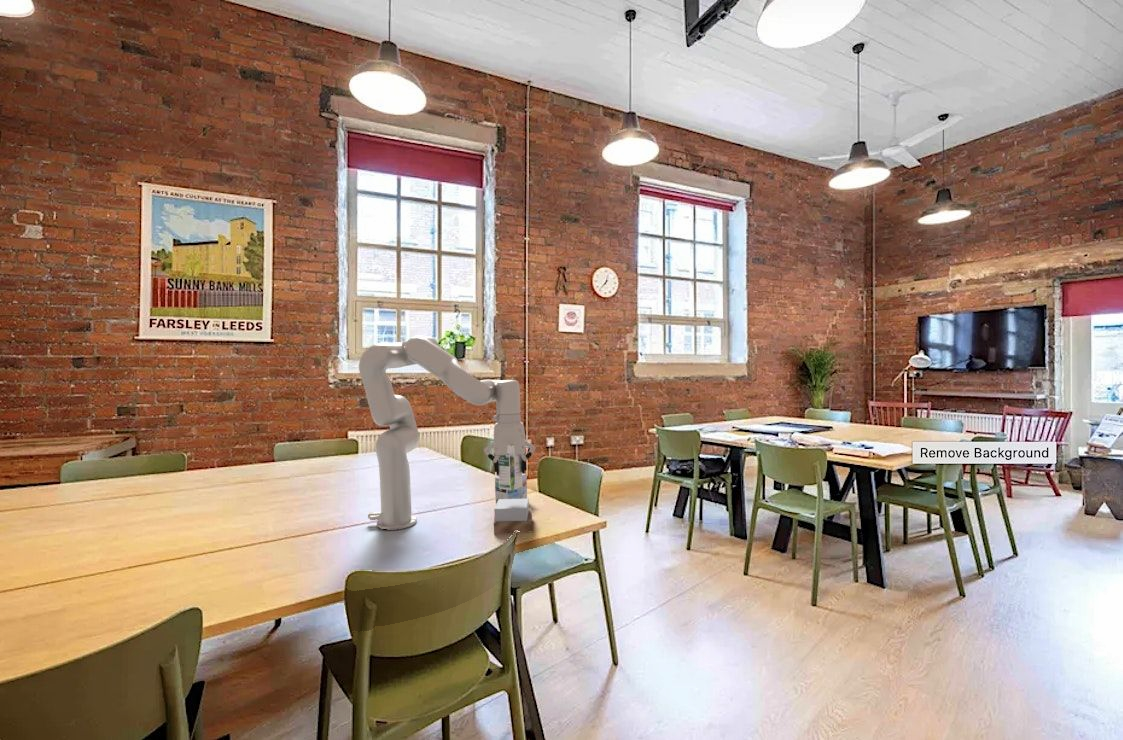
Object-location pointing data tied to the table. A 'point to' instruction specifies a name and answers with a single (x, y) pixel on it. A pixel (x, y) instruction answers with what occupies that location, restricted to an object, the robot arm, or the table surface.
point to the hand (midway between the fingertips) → (510, 473)
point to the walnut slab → (514, 525)
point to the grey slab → (511, 510)
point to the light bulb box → (509, 494)
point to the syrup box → (510, 470)
